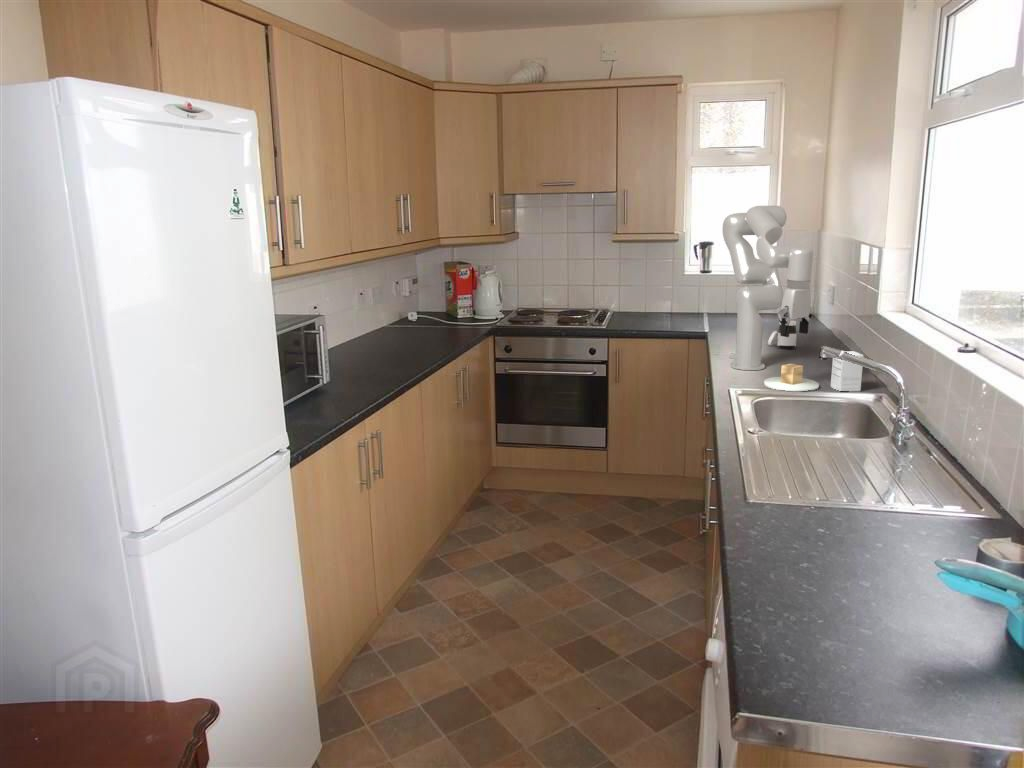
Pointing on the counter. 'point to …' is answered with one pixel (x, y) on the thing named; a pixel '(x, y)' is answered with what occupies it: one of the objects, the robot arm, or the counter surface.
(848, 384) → the supplement box
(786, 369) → the block
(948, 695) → the counter surface
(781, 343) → the spread jar
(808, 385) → the dish
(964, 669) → the counter surface
